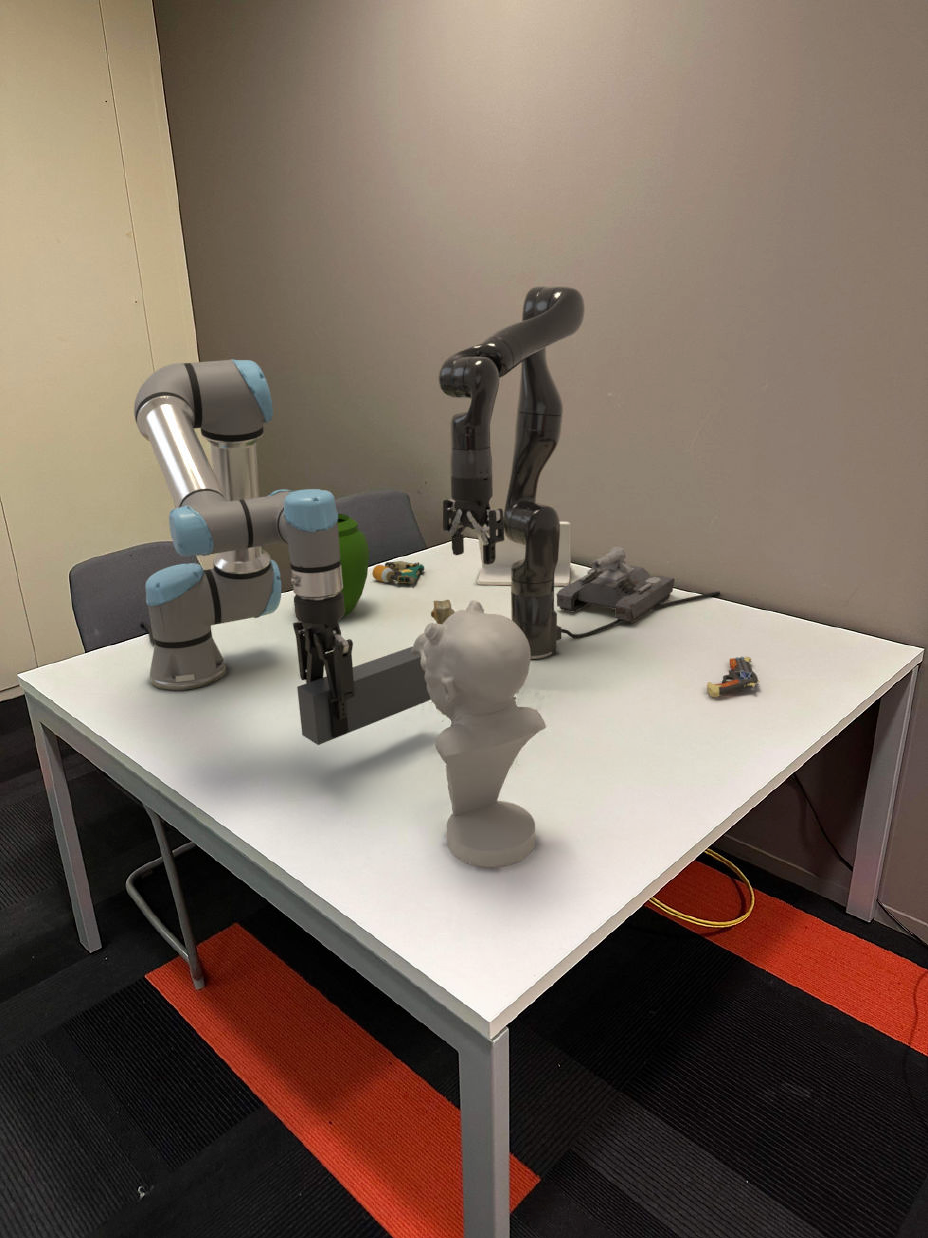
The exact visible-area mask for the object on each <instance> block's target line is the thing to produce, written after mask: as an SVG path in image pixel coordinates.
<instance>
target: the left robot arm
mask: <svg viewBox="0 0 928 1238" xmlns="http://www.w3.org/2000/svg"><path fill="white" fill-rule="evenodd" d="M133 415H134V420H135V423H136V425H137V428H138V429H137V430H139V433H140V434H141V435H142V437H143V438H144V439H145V440H146V441H148V442H149V443H150V445H151V447H152V448H151V449H152V451H153V453H154V455H155V457H156V461H157V462H158V466H159V467H160V470H161V473H162V475H163V478H164V480H165V483H166V486H167V488H168V490H169V493H170V496H171V498H172V500H173V503H174V506H175V508H173V509H171V510H170V511H169V514H168V523H169V524H168V525H169V531H170V537H171V540H172V545H173V548H174V550H175V552H176V553H177V555H179V556H180V557H183V558H187V557H198V556H202V557H205V556H206V557H207V556H211V555H215V556H214V557H213V559H212V563H213V564H212V565H213V568H209V569H204V568H203V566H202V565H201V564H199V563H193V562H190V563H180V564H176V565H175V564H174V565H171V566H167V567H165V568H162V569H160V570H158V571H156V572H155V573H153V574H151V575H150V576H149V577H148V578H147V580H146V581H145V585H144V589H145V603H146V605H147V608H148V614H149V620H150V625H149V623H147V621H144V620H143V621H141V622H140V623H139V626H140V627H144V628H145V629H146V631H147V632H148V636H149V640H150V642H151V644H152V645H153V646H154V647H153V652H152V658H151V663H150V668H149V677H150V682H151V684H152V685H153V686H154V687H155V688H157V689H159V690H166V691H187V690H194V689H198V688H203V687H206V686H209V685H210V684H213V683H215V682H217V681H218V680H220V679H221V678H223V677H224V676H225V674H226V672H227V668H226V662H225V659H224V657H223V655H222V653H221V651H220V649H219V648H218V645H217V643H216V642H215V640H214V638H213V633H212V626H215V625H221V624H226V623H231V622H238V621H242V620H248V619H252V618H253V619H258V618H260V617H262V616H267V615H271V614H273V613H274V612H276V610H278V608H279V606H280V604H281V600H282V580H281V571H280V568H279V566H278V563H277V562H276V561H275V560H273V559H271V555H270V554H269V553H268V552H267V551H266V550H265V549H263V547H266V546H272V545H273V546H274V545H280V544H286V545H287V547H288V548H287V549H288V557H289V556H290V560H289V566H290V570H291V571H290V572H291V579H290V583H291V584H292V591H293V593H294V594H295V595H294V596H293V605H294V606H293V607H294V614H295V618H296V620H297V621H296V622H293V623H292V627H293V631H294V634H295V640H296V650H297V659H298V670H299V677H300V679H301V681H305V684H306V683H309V682H312V681H315V680H318V679H320V678H323V677H324V673H325V675H326V676H327V680H328V684H329V689H330V693H331V698H330V699H327V700H328V702H329V711H330V722H331V733H332V737H333V738H335V739H337V738H340V737H342V736H345V735H347V734H349V732H348V720H347V715H348V714H347V702H346V700H347V699H350V698H352V697H354V696H355V690H354V678H353V667H354V666H353V655H352V654H353V647H354V642H353V640H352V639H351V638H348V639H345V638H344V637H343V636H342V630H341V628H340V624H339V622H340V620H341V619H342V618H344V617H343V615H344V613H345V609H344V597H343V593H342V592H341V590H342V589H343V581H342V571H341V562H340V548H339V534H338V514H339V513H338V510H337V505H336V498H335V496H334V494H333V493H332V492H331V491H329V490H326V489H319V488H307V489H298V490H290V489H283V488H281V489H277V490H274V491H272V492H270V493H269V494H268V495H267V496H260V485H259V484H260V483H259V482H260V481H259V467H258V466H259V465H258V450H257V449H258V448H257V441H259V440H260V439H261V438H262V437H263V436H264V432H265V431H264V424H268V423H269V422H271V421H272V420H273V418H274V417H273V416H274V407H273V401H272V396H271V391H270V388H269V385H268V381H267V379H266V376H265V374H264V372H263V370H262V368H261V367H260V365H259V364H258V363H256V362H255V361H254V360H251V359H233V358H230V359H224V360H223V359H222V360H212V361H211V360H210V361H197V362H177V363H171V364H167V365H165V366H162V367H160V368H159V369H157V370H156V371H153V373H151V375H149V376H148V377H147V378H146V379H145V381H144V382H143V383H142V384H141V386H140V388H139V389H138V392H137V393H136V397H135V399H134V405H133ZM195 429H200V435H201V436H202V438H204V439H205V440H206V441H208V442H209V445H210V454H211V455H210V456H211V463H210V461H209V459H208V457H207V454H206V453H205V450H204V448H203V445H202V444H201V442H200V439H199V437H198V435H197V432H196V430H195ZM324 671H325V672H324ZM346 733H347V734H346ZM344 734H345V735H344ZM341 735H342V736H341ZM339 736H340V737H339ZM336 737H337V738H336Z"/></svg>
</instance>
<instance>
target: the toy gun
mask: <svg viewBox="0 0 928 1238" xmlns="http://www.w3.org/2000/svg"><path fill="white" fill-rule="evenodd" d="M750 663H753V661H752V658H751V657H750V656H740V657H738V656H737V657H733V658H729V667H730V669H731V670H728V674H725V675H723V676H722V680H721V683H713V682H711V681H708V682H707V683H706V689H707V693H708V694H709V696H710V697H711V698H717V697H721V696H724V695H728V694H731V693H734V692H737V691H741V690H744V689H746V688H748V687H752V688H754V687H756V685H757V683H760V680H759V678H758V675H757V674H756V673H755V671H753V668H752V666H751V664H750Z"/></svg>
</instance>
